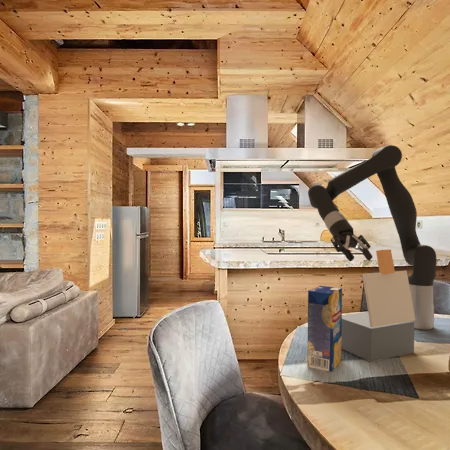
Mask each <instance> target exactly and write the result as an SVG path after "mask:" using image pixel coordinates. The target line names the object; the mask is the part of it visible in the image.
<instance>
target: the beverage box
mask: <svg viewBox="0 0 450 450" xmlns="http://www.w3.org/2000/svg"><path fill="white" fill-rule="evenodd" d="M342 298H343V287H337V286H335V287H334V286H326V285H319V286H316V287H315V288H312V289H310V290H308V291H307V364H306V365H307V368H312V369H315V370H321V371H324V372H329V373H332V372H333V370H335V368H336V367H337V365H339V363H340V362H341V361H342V349H341V341H342V315H343V299H342Z"/></svg>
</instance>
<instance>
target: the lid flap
mask: <svg viewBox="0 0 450 450" xmlns="http://www.w3.org/2000/svg"><path fill="white" fill-rule="evenodd" d="M375 253H376V258H377V264H378V271H379V272H371V273H370V272H369V273H368V272H367V273H362V279H363V281H362V282H363V288H364V294H365V301H366V307H367V312H368V314H369V320H370V327H377V326H383V325H389V324H395V323H401V322H408V321H414V320H415V315H414V309H413V304H412V298H411V292H410V287H409V281H408V276H409V275H408V272H407V271H408V270H398V271H397V270H395V266H394V260H393V259H394V258H393V254H392V249H378V250H375Z"/></svg>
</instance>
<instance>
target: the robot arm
mask: <svg viewBox="0 0 450 450" xmlns="http://www.w3.org/2000/svg"><path fill="white" fill-rule="evenodd" d="M402 153H403V152H402V151H401V149H400V147H398V146H397V145H393V144H387V145H384V146H381V147H379V148H377V149H375V150H374V151H373V153H372V155H371V157H370V158H369V159H367V160H366V161H364V162H362V163H360V164H358V165H356V166H353V167H352V168H349V169H346V170H345V171H343V172H341V173H340V174H338V175H336V176H334V177H332V178H331V179H329V181H328V182H327V186H326V187H325V186H324V185H323V184H320V183H317V184H316V183H315V184H312V185H311V186H310V187H309V189H308V192H307V194H308V199H309V203H310V206H311V207H312V208H314V209H317V212H318V214H319V216H320V218H321V219H322V221H323V222H324V225H325V226H326V228H327V230H328V231H329V233H330V234H331V236H332V237H331V238H330V242H331V244H332V246H333V247H334V249H335V251H336V252H338V253H342V254H343V255H344V256H345V258H346V259H347V260H348V261H349V262H352V261H354V259H355V256H354V255H353V253H352V251H351V250H350V249H351V248H352V249H354V250H356V251H357V250H358V251H360V252H361V253H362V256H364V258H365V259H366V261H371V260H372V259H373V254H372V253H371V252H370V250H369V249H371V247H372V246H371V244H370V243H369V242H368V241H367V240H366V238H365V237H364V236H363V235H362V234H360V235H358V236H357V235H356V234H354V227H353V226H352V225H351V223H350V222H349V221H348V220H347V218H346V216H345V215H344V214H343V213H342V212H341V211H340V210H339V209H338V207H337V206H336V204H335V203H334V202H333V201H334V200H335V199H336V198H337V197H338V196H340V195H341V194H343V193H345V192H347V191H348V190H350V189H351V188H353V187H355V186H357V185H358V184H360V183H362V182H363V181H364V180H367V179H368V178H370V177H372V176H375V175H377V177H378V179H379V181H380V185H381V187H382V190H383V193H384V196H385V198H386V203H387V205H388V209H389V212H390V215H391V218H392V219H393V223H394V226H395V229H396V232H397V234H398V238H399V242H400V246H401V250H402V255H403V258H404V261H405V263H407V265H409V266H412V267H413V268H412V269H413V270H412V273H411V274H410V275H407V276H408V281H409V287H410V292H411V298H412V304H413V309H414V315H415V320H414V329H416V330H424V331H425V330H432V329H434V327H435V304H434V280H435V279H436V273H437V261H438V260H437V254H436V251H435V249H434V248H433V247H432V246H431V245H425V244H421V242H420V239H419V236H418V234H417V230H416V228H417V227H416V225H417V216H418V214H417V208H416V205H415V202H414V199H413V197H412V195H411V193H410V192H409V190H408V189H407V188H406V186H405V185H404V184H403V182H402V181H401V179H400V178H399V176H398V173H397V170H396V167H397V166H398V165H399V164H400V163H401V161H402V158H403V154H402Z"/></svg>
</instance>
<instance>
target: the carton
mask: <svg viewBox="0 0 450 450" xmlns="http://www.w3.org/2000/svg"><path fill="white" fill-rule="evenodd" d="M341 350H344V351H347V353H350V354H352V353H353V354H352V355H356V356H357V357H359V358H361V359H364V360H366V361H368V362H371V363H372V362H377V361H382V360H385V359H391V358H395V357H399V356H400V357H401V356H404V355H409V354H413V353H415V328H414V321H408V322H401V323H395V324H389V325H383V326H377V327H370V320H369V314H368V311H362V312H353V313H349V314H342V341H341Z"/></svg>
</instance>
